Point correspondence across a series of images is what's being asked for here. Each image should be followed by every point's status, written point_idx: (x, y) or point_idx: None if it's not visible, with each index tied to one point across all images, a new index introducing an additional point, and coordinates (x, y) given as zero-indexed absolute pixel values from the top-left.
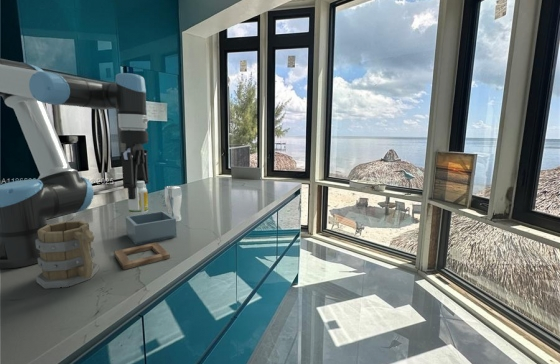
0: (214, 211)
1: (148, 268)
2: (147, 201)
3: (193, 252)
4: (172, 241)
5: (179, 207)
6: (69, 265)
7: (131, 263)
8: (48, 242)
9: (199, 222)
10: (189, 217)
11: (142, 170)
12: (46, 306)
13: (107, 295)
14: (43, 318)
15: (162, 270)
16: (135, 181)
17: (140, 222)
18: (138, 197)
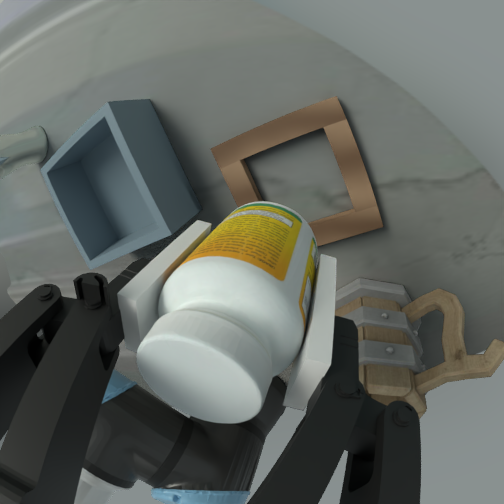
0: (4, 62)
1: (396, 158)
2: (255, 222)
3: (303, 27)
4: (186, 103)
5: (10, 135)
6: (419, 341)
7: (375, 207)
8: None
9: (55, 68)
10: (25, 110)
11: (62, 419)
12: (468, 324)
13: (488, 241)
14: (499, 316)
15: (421, 121)
16: (340, 429)
17: (90, 223)
18: (318, 299)
